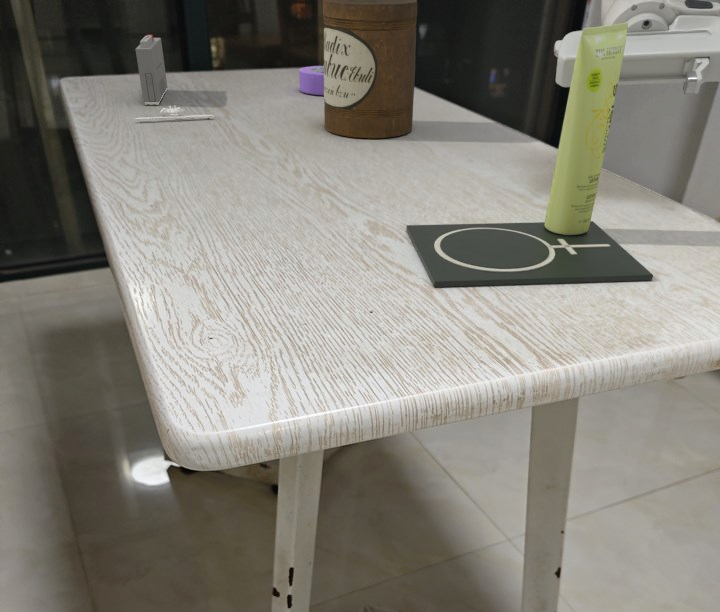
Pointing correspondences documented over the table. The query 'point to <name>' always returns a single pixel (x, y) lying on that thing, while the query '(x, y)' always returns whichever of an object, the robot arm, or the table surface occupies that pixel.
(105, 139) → the table surface
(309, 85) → the tape roll
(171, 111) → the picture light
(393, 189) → the table surface
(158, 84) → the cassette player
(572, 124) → the tube
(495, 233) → the chalkboard
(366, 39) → the wooden container
